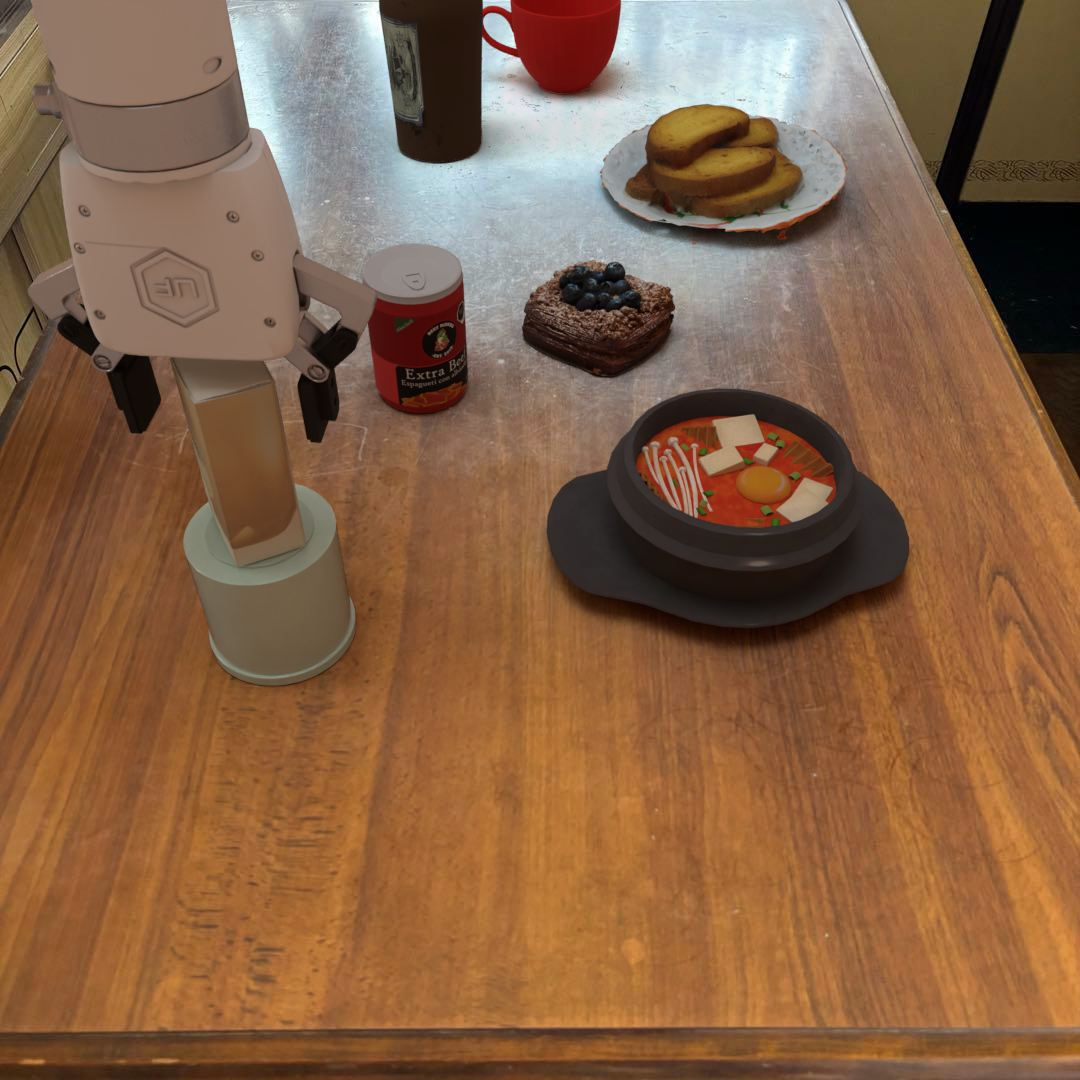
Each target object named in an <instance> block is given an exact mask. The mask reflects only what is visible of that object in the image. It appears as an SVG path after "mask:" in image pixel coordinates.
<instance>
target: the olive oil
mask: <svg viewBox="0 0 1080 1080" xmlns="http://www.w3.org/2000/svg"><path fill="white" fill-rule="evenodd" d="M483 9H484V0H378V10H379V16H380V23H381V30H382V37H383V43H384V51H385V56H386V57H385V58H386V63H387V64H386V65H387V70H388V71H387V73H388V79H389V86H390V94H391V101H392V109H393V115H394V124H395V132H396V140H397V141H396V142H397V146H398V149H399V150H400V152H401V153H402V154H404V155H405V156H407V157H408V158H411V159H413V160H416V161H420V162H426V163H427V162H428V163H449V162H455V161H459V160H462V159H463V160H464V159H466V158H468V157H471V156H472V155H474V154H475V153H477V152H478V151H479V149H480V148H481V147H482V144H483V127H482V126H483V120H482V119H483V117H482V114H483V113H482V111H483V109H482V108H483V106H482V105H483V104H482V100H483V99H482V98H483V97H482V96H483V95H482V94H483V93H482V92H483V90H482V89H483V86H482V84H483V83H482V82H483V37H482V28H483V24H484V19H483Z"/></svg>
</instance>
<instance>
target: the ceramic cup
mask: <svg viewBox="0 0 1080 1080" xmlns="http://www.w3.org/2000/svg"><path fill="white" fill-rule="evenodd" d="M509 3H510V11H509V10H508V9H506V8H504V7H502V6H498V5H488V6H485V7H483V20H484V19H485V17H486V16H487V15H489V14H497V15H500V16H501V17H503V18H504V20H506V22H507V23H508V25H509V27H510V29H511V32H512V33H513V39H514V44H515V47H511V46H509V45H506V44H504V43H502V42H499V41H498V40H496V39H495V38H493V37H492V36H491V35H490V34H489V32H488V31H487V29H486V28H485V25H484V23H483V28H482V39H483V41H485V42H486V43H487V44H488V45H489V46H490V47H492V48H493V49H495V50H497V51H499V52H502V53H504V54H506V55H509V56H512V57H515V58H519V59H520V62H521V63H522V65H523V67H524V69H525V70H526V72H527V73H528V74H529V76H530V77H531V78H532V80H534V82H536V84H537V85H538V87H539V88H540V89H542V90H543V91H546V92H548V93H552V94H557V95H558V94H559V95H570V94H571V95H572V94H578V93H581V92H584V91H586V90H588V89H589V88H590V87H591V86H592V84H593V83H594V82H595V81H596V80H597V79H598V78H599V76H600V75H601V74H602V73H603V72H604V70H605V69H606V67H607V66H608V64H609V62H610V60H611V58H612V55H613V52H614V49H615V46H616V42H617V39H618V32H619V28H620V27H619V26H620V20H621V19H620V17H621V11H622V0H510V2H509Z"/></svg>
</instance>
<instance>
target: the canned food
mask: <svg viewBox="0 0 1080 1080" xmlns="http://www.w3.org/2000/svg"><path fill="white" fill-rule="evenodd" d="M361 274H362V277H361V279H362V284H363V285H365V286H368V287H370V288H372V289H373V290H374V291H375V292H376V293H377V301H376V304H375V307H374V310H373V313H372V315H371V317H370V319H369V321H368V323H367V329H368V336H369V343H370V345H369V346H370V352H371V358H372V359H371V360H372V367H373V375H374V381H375V386H376V389H377V390H378V393H379V394H380V396H381V398H382V399H383V400H384V401H385V403H387V404H388V405H389V406H391V407H392V408H394V409H397V410H398V411H403V412H405V413H410V414H411V413H412V414H427V413H428V414H429V413H435V412H438V411H442V410H444V409H447V408H449V407H451V406H452V405H454V404H456V403H457V402H458V401H459V400H460V399H461V398H462V396H463V395H464V394H465V390H466V388H467V384H468V381H469V367H468V345H467V344H468V343H467V325H466V306H465V303H466V302H465V286H464V285H465V283H464V272H463V268H462V263H461V261H460V259H459V258H458V257H457V256H456V255H455V254H454V253H453V252H451V251H449V250H447V249H445V248H443V247H441V246H440V247H439V246H438V245H433V244H427V243H402V244H397V245H392V246H388V247H386V248H383V249H381V250H378V251H377V252H375V253H373V254H372V255H370V257H369V258H368V259H367V260H366V261H365V262H364V264H363V266H362V271H361Z"/></svg>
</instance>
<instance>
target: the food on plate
mask: <svg viewBox="0 0 1080 1080" xmlns="http://www.w3.org/2000/svg"><path fill="white" fill-rule="evenodd" d="M602 162H603V164H604V165H603V166H602V168H601V169H600V171H599V174H600V179H601V181H602V184H601V186H602V187H603V188H604V189H605V188H606V189H607V191H608V192H609V194H610V196H611V197H612V198H613V201H615V202H617V203H618V207H620V208H622V209H624V210H627V211H629V213H631V214H634V215H635V216H636V217H639V218H641V219H644V220H646V221H647V222H650V223H651V222H660V223H667V224H673V225H676V226H679V227H681V226H688V227H695V228H702V229H725V230H724V232H736V233H743V232H749V231H751V232H752V231H755V232H756V233H757V232H759V231H761V233H762V234H765V233H766V232H768V231H771V230H781V232H780V233H779V234H778V235H776V236H775V238H776V239H778V240H786V231H787V230H788V228H790V227H792V226H793V225H794V224H796V223H797V222H799V223H801V222H802V221H803V220H805V219H806V218H807V217H809V216H811V215H815V214H816V213H818V212H820V211H821V210H823V207H824V206H827V205H829V204H830V201H832V200H835V199H836V198H837V196H838V194H841V193H842V190H843V189H844V185H845V184H846V176H847V171H849V170H848V166H847V165H846V163H845V162H846V161H845V158H844V156H842V155H841V152H840V151H839V150H838V149H837V148H836V147H835V146H834V145H833V144H832V143H831V141H830V140H828V139H824V138H823V137H822V136H821V135H820V134H819V133H818V132H817V131H816V130H815V129H807V128H805V127H803V126H801V125H799V124H796V123H790V124H788V123H786V122H785V121H780V120H779V119H778V118H774V117H768V116H763V115H757V114H756V115H752V114H749V113H747V112H745V111H743V110H742V109H740V108H737V107H734V106H728V105H718V104H717V105H716V104H710V103H703V104H694V105H689V106H683V107H678V108H676V109H673V110H671V111H669V112H668V113H664V114H662V115H660V117H658V118H657V119H656V120H655V121H654V122H653V123H652V124H645V126H644V127H643V128H642V127H641V128H640V129H634V130H632V132H631V133H629V134H627V135H626V136H625V137H623V138H622V139H621V140H620V141H619V142H617V143H616V144H614V146H613V147H612V148H611V149H610V150H609V151H608V154H606V155H605V157H604V158H603V159H602ZM664 220H665V221H664ZM782 229H783V230H782ZM697 244H698V243H697V242H696V241H694V242H691V245H697Z"/></svg>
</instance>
